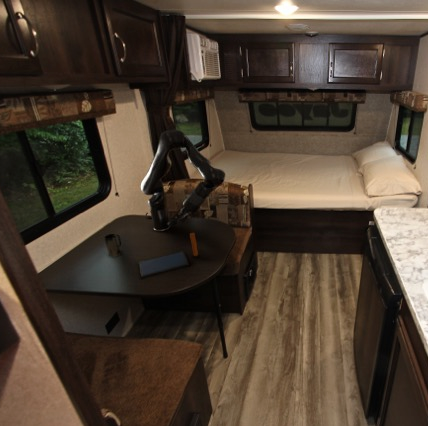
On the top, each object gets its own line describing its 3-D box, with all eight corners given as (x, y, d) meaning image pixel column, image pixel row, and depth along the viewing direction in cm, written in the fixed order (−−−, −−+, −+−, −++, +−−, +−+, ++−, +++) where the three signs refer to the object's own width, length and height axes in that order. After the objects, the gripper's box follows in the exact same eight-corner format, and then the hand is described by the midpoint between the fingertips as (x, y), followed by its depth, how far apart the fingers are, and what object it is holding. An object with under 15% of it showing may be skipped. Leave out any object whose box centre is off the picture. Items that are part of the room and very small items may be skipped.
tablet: (139, 263, 151) (139, 261, 151) (184, 252, 161) (183, 250, 161) (141, 278, 140) (140, 276, 140) (188, 265, 150) (188, 263, 150)
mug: (106, 256, 157) (100, 236, 152) (113, 250, 162) (107, 231, 157) (120, 257, 156) (114, 237, 151) (127, 251, 161) (121, 232, 156)
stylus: (193, 255, 158) (189, 233, 152) (197, 254, 160) (194, 232, 154) (194, 257, 157) (190, 235, 151) (198, 256, 158) (195, 234, 152)
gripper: (196, 193, 149) (178, 215, 153) (181, 197, 135) (162, 221, 139) (207, 203, 149) (189, 225, 153) (193, 208, 135) (174, 232, 139)
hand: (176, 223), depth 146 cm, fingers open, 8 cm apart
